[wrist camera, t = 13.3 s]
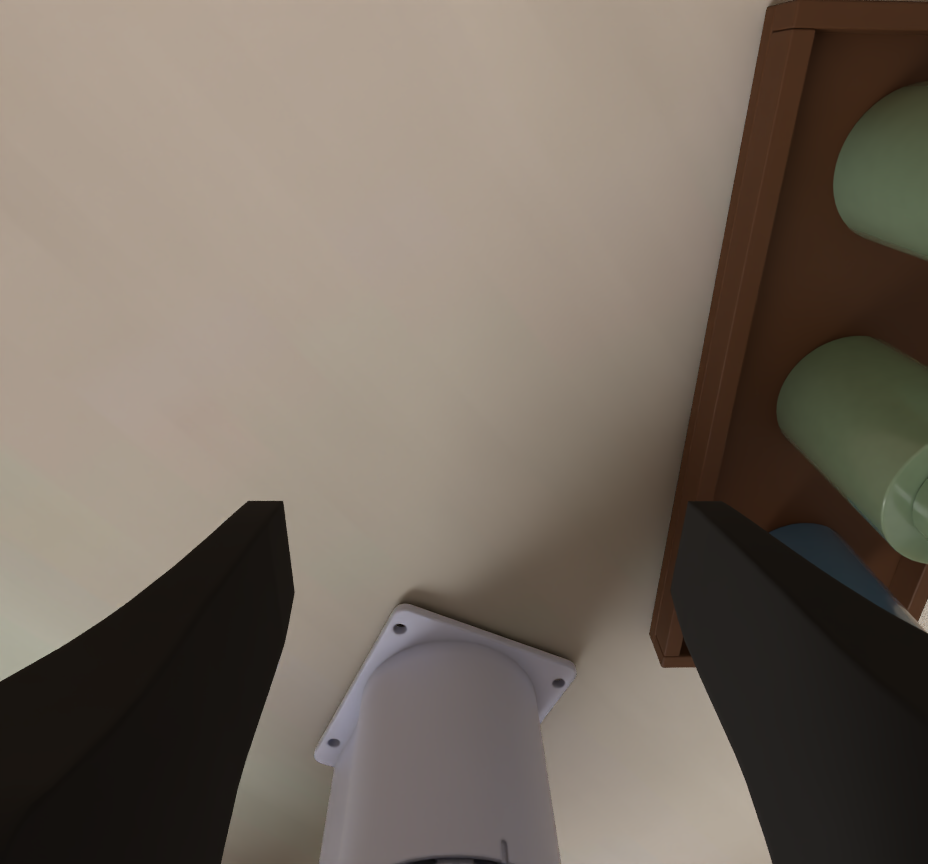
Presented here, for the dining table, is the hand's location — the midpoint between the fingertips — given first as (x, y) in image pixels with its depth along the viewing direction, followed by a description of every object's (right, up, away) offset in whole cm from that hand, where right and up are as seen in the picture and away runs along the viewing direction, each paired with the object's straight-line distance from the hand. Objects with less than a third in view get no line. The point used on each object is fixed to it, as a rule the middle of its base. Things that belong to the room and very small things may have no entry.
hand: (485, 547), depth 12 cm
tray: (+12, +3, +10) cm, 16 cm away
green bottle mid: (+12, +3, +10) cm, 16 cm away
